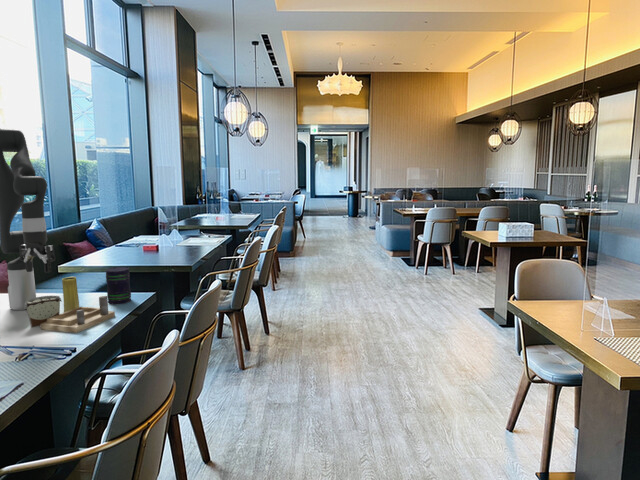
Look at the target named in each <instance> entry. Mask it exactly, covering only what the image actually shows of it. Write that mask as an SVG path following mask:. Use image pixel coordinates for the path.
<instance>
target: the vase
mask: <svg viewBox="0 0 640 480" xmlns="http://www.w3.org/2000/svg"><path fill="white" fill-rule="evenodd" d="M77 281H78V280H77V277H76V276H69V277H64V278H62V279H61V283H62V284H61V285H62V294H63V295H62V297H63V313H64V312H67V311H70V310H73V309H75V308H78V307H80V300H79V292H78V283H77Z"/></svg>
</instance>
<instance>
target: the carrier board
mask: <svg viewBox="0 0 640 480" xmlns="http://www.w3.org/2000/svg"><path fill="white" fill-rule="evenodd" d="M98 302H99V307H92V306H91V307H89V306H79V307H78V308H75V309H73V310H70V311H67V312H64V311H63V312H62V313H60V314H59V315H56V316H53V317H51V318H48V319H47V322H45V323H42V324H40V325H41V326H40V329H41V330H46V331H55V332H56V331H57V332H65V333H75V334H77V333H79V332H82V331H84V330H87V329H89V328H92V327H93V326H96V325H98V324H100V323H103V322H105V321H107V320H110V319H112V318H115V317H116V311H114V310H113V311H112V310H109V304H108V298H107V295H101V296H98Z"/></svg>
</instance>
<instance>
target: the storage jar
mask: <svg viewBox="0 0 640 480" xmlns="http://www.w3.org/2000/svg"><path fill="white" fill-rule="evenodd" d="M130 274H131V273H130V267H127V266H115V267H109V268H106V269H105V282H106V284H107V291H106V293H107V295H106V296H107V299H108V303H109V304H108V305H125V304H128V303H130V302H132V298H131V297H132V291H131V286H130V280H131V278H130V277H131V275H130Z"/></svg>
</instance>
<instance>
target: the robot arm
mask: <svg viewBox="0 0 640 480" xmlns="http://www.w3.org/2000/svg"><path fill="white" fill-rule="evenodd" d="M4 153H15V154H14V155H13V156H12V157H11V159H10V164H8V162H7V160H6V158H5V154H4ZM36 175H37V173H36V170H35V167H34V166H33V164H32V162H31V158H30V154H29V148H28V145H27V140H26V137H25V134H24V133H23V131H22V130H20V129H15V128H0V249H1V252H2V253H3V254H6V255H11V254H18V253H19V257H17V258H15V259H13V260H10V261H9V262H8V263H7V264H6V268H7V275H8V276H7V277H8V286H7V294H8V302H9V305H8V306H9V309H11V310H13V311H23V310H24V311H25V310H27V307H25V303H26V301H27V300H29V299H32V298H36V297H37V293H36V292H37V291H36V283H35V273H34V263H33V261H34V260H33V259H34V258H35V257H36V258H39V260H42V262H43V268H44V271H43V272H44V273H45V274H49V273H51V272H52V262H55V261H56V254H55V246H54V245H53V244H52V245H47V242H48V234H47V233H48V232H47V223H46V219H45V209H44V207H45V205H44V203H45V197H46V193H47V191H48V190H47V189H48V182H47V181H46V179H45V178H44V177H43V176H39V175H37V176H36ZM25 196H35V198H34V199H33V200H30V201H26V202H24V201H25ZM20 209H21V217H22V220H21V222H22V223H21V224H22V230H13V231H11V227H12V226H11V225H12V222H13V220H14V218H15V216H16V214H17V213H18V212H19V210H20Z"/></svg>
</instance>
